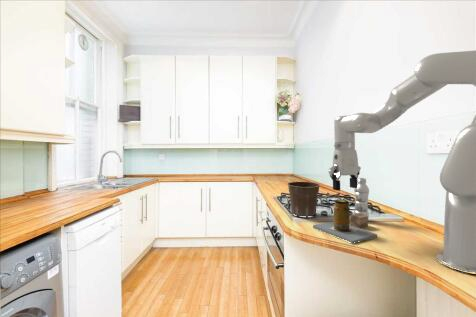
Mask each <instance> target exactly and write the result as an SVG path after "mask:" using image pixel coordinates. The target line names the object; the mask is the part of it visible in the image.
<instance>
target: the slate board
mask: <svg viewBox="0 0 476 317" xmlns="http://www.w3.org/2000/svg"><path fill="white" fill-rule="evenodd" d="M349 225H350V224H349ZM332 227H334V220H331V221H327V222H322V223H317V224H313V225H312V228H313V229H315V230H317V229H318V230H317V231H320V230H321V231H320V232H322V231H323V232H322V233H324V232H326V233H325V234H327V233H329V234H331V235H334V236H336V237H339V238H341V239H344V240H347V241H349V242H351V243H354V242H358V241H362V240H366V241H368V240H367V239H369V240H372V239H371V238H373V239H376V238H375V237H377V238H378V234H376V233H375V232H373V231H372V232H371V231H368V230H366V229H364V228H362V229H360V228H357V227H354V226H351V225H350V226H349V227H350V228H353V229H356V230H357V231H355V232H353V233H350V234H348V233H344V232H341V231H336V230H333V229H329V228H332ZM329 234H328V235H329ZM331 235H330V236H331ZM334 236H333V237H334ZM336 237H335V238H336ZM339 238H338V239H339ZM341 239H340V240H341ZM362 242H363V241H362Z"/></svg>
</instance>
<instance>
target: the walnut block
mask: <svg viewBox="0 0 476 317" xmlns="http://www.w3.org/2000/svg"><path fill="white" fill-rule="evenodd" d="M349 223H350V224H349V225H351V226H354V227H357V228H360V229H366V228H369V218H368V216H366V215H362V214H359V213H357V214H354V213H352V214H350V222H349Z"/></svg>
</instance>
